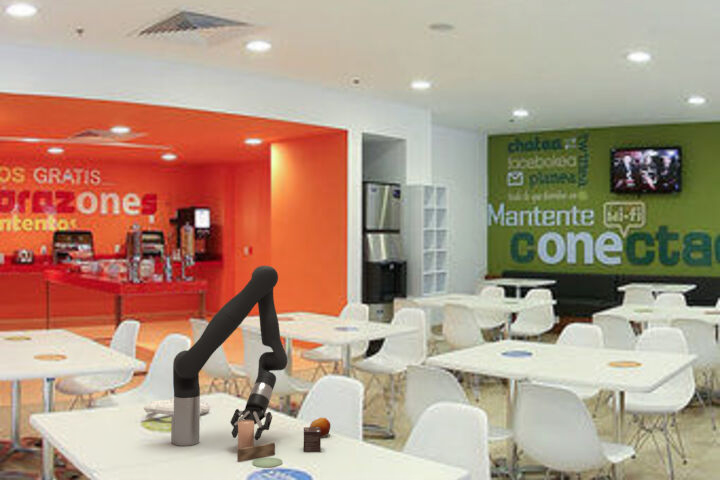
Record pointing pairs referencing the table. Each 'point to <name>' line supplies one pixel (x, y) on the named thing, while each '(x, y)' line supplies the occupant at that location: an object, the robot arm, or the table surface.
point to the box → (312, 439)
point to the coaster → (267, 462)
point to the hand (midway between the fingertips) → (244, 437)
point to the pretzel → (170, 407)
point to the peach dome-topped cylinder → (245, 433)
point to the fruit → (322, 426)
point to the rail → (255, 452)
